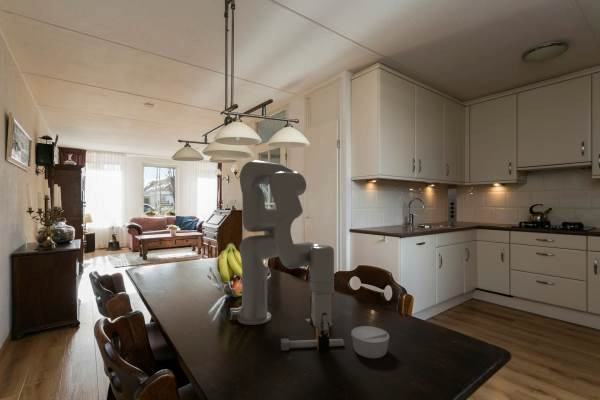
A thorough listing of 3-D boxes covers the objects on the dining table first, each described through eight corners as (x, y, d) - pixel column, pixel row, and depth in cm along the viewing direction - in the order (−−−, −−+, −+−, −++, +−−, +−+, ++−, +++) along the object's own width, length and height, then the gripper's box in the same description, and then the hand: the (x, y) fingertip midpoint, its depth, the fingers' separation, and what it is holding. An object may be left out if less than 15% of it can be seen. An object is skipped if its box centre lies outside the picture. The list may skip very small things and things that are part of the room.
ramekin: (383, 365, 82) (383, 345, 82) (345, 354, 88) (345, 336, 88) (393, 348, 92) (393, 331, 92) (359, 339, 98) (359, 323, 98)
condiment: (321, 316, 117) (321, 285, 117) (333, 324, 110) (333, 291, 110) (304, 319, 114) (304, 288, 114) (315, 328, 107) (315, 294, 107)
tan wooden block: (318, 350, 90) (318, 330, 90) (315, 342, 95) (315, 324, 95) (327, 349, 91) (327, 330, 91) (325, 342, 95) (325, 324, 95)
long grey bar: (281, 350, 90) (281, 342, 90) (281, 345, 93) (281, 338, 93) (345, 347, 92) (345, 340, 92) (342, 343, 95) (342, 336, 95)
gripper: (306, 279, 101) (306, 332, 101) (313, 294, 84) (313, 358, 84) (328, 278, 102) (328, 331, 102) (339, 293, 85) (339, 357, 85)
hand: (321, 343), depth 93 cm, fingers open, 6 cm apart
